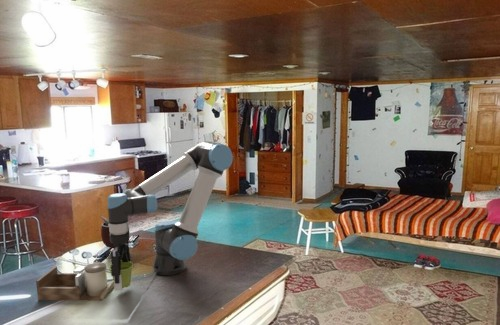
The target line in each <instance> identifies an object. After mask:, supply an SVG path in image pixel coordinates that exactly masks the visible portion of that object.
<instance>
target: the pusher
mask: <svg viewBox="0 0 500 325" xmlns="http://www.w3.org/2000/svg"><path fill="white" fill-rule="evenodd" d="M85 267H86V266H77V267H76V268H75V269H73V272H72V273H79V274H78V275H76V276H75V282H76V287H80V295H81V296H82V295H83V294H84V293H85V292H86V291H87V286H86V273H85Z"/></svg>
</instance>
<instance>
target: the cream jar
mask: <svg viewBox="0 0 500 325" xmlns="http://www.w3.org/2000/svg"><path fill="white" fill-rule="evenodd" d="M84 267H85V273H86V286H87V295H89V296H99V295H100V294H101V293H102V292H103V291H104V290H105V288H106V287H107V285H108V277H107V264H106V263H105V262H93V263H90V264H88V265H86V266H84Z"/></svg>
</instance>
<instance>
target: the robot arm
mask: <svg viewBox="0 0 500 325" xmlns="http://www.w3.org/2000/svg"><path fill="white" fill-rule="evenodd" d="M233 156H234V155H233V153H232V150H231V149H230V147H229V146H228V145H226V144H223V143H220V142H213V141H203V142H200V143H198V144H196V145H194V146H193V147H191V148H189V149H188V150H187V151H185V152H184V153H183V155H182V156H181V157H180V158H178V159H176V160H175V161H173V162H172V163H170V164H169V165H167V166H165V168H163V169H161V170H159V171H158V172H157V173H155V174H154V175H152V176H150V177H149V178H148V179H146V180H144V181H143V182H141V183H140V184H139V185H136V186H135V187H133V188H128V189H125V190H124V191H123V192H122V193H120V192H119V193H117V192H116V193H112V194H110V195H109V196H108V197H107V212H108V213H107V215H108V220H109V224H108V226H109V232H110V242H111V243H113V244H114V248H113V249H114V251H111V250H110V251H111V259H110V260H111V263H110V265H111V270H110V274H111V275H110V276H111V277H113V276H114V280H113V281H114V284H115V286H114V291H122V290H123V288H122V278H121V274H120V270H121V262H128V261H129V262H131V261H132V258H131V253H130V252H131V251H130V242H129V241H130V228H129V227H130V225H129V224H130V223H129V217H133V216H138V215H139V216H141V215H147V214H151V213H155V212H156V211H157V209H158V200H157V197H156V194H158V193H159V192H161V191H162V190H164V189H165V188H167V187H168V186H170V185H171V184H173V183H174V182H176V181H177V180H179V179H180V178H181V177H183V176H185V175H186V174H188V173H189V172H191V171H195V170H198V174H197V176H196V179H195V181H194V183H193V186H192V189H191V191H190V194H189V195H188V198H187V201H186V203H185V206H184V207H183V210H182V212H181V215H180V218H179V220H165V221H160V222H158V223H156V224H155V226H154V235H155V238H154V239H155V258H154V262H153V265H152V272H153V273H155V274H156V275H158V276H173V275H178V274H180V273H183V272H184V271H185V270H186V262H185V260H189V259H190V258H192V257H193V256H194V255H195V254H196V253H197V250H198V248H199V243H198V240H197V238H198V237H199V236H198V235H199V233H200V232H199V230H198V226H199V225H200V222H201V219H202V217H203V214H204V211H205V210H206V207H207V204H208V201H209V199H210V197H211V195H212V192H213V190H214V187H215V185H216V182H217V180H218V178H220V177H222V176H223V174H224V171H226V170H228V169H229V168H230V167H231V166H232V163H233V160H234V158H233ZM128 231H129V232H128ZM119 255H120V256H119Z"/></svg>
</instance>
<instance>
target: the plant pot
mask: <svg viewBox="0 0 500 325" xmlns="http://www.w3.org/2000/svg"><path fill="white" fill-rule="evenodd" d="M133 267H134V263H133V262H131V261H130V262H129V261H128V262H122V261H121V270H120V274H121V278H122V289H124V288H128V287H130V286H131V280H132V270H133ZM108 270H110V271H111V264H110V265H109V267H108ZM112 280H113V281H114V276H112ZM114 285H115V284H114Z"/></svg>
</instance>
